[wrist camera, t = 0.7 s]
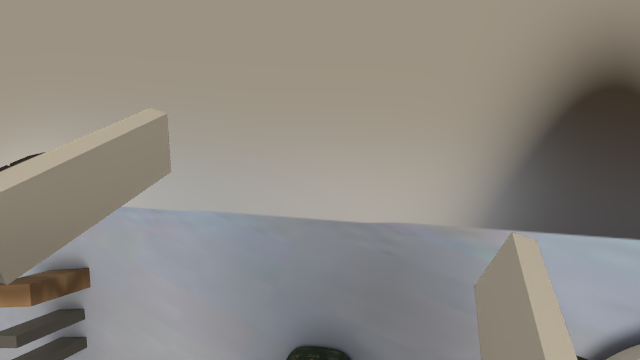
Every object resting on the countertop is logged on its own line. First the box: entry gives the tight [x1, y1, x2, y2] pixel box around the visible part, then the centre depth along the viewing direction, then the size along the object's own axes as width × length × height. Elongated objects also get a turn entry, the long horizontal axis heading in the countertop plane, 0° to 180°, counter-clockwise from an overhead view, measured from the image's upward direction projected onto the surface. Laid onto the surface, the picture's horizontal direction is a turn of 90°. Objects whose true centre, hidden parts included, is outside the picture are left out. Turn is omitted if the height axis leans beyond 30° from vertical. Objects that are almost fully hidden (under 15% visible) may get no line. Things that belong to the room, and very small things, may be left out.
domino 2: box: [12, 337, 87, 360], centre depth 50 cm, size 2×5×10 cm, turn 96°
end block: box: [0, 268, 90, 307], centre depth 51 cm, size 3×8×9 cm, turn 96°
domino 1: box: [0, 309, 85, 348], centre depth 50 cm, size 2×5×10 cm, turn 96°
